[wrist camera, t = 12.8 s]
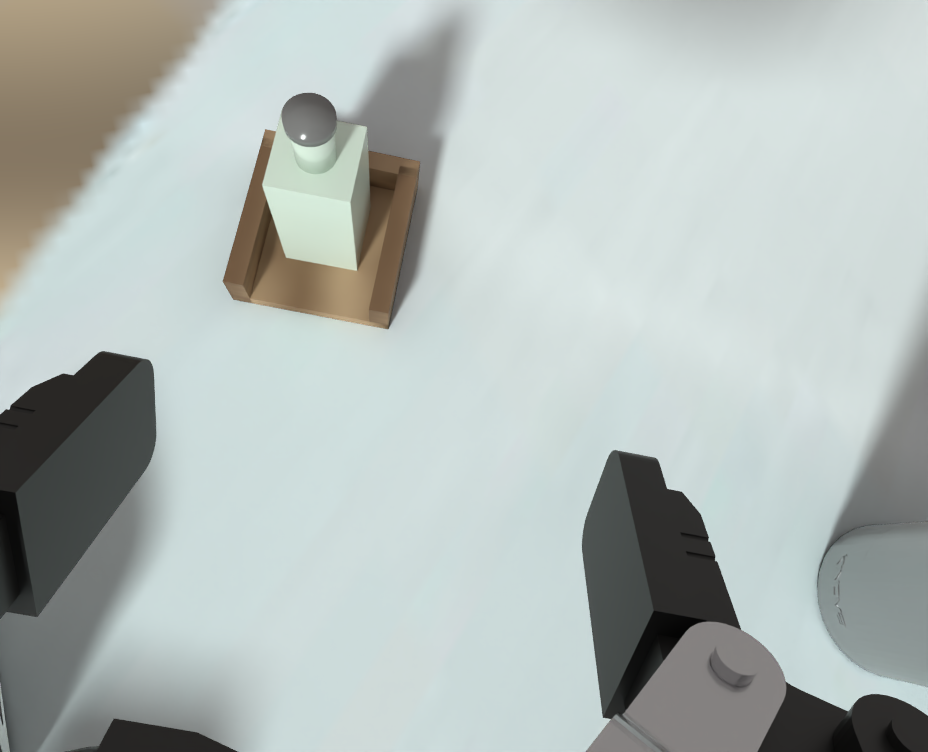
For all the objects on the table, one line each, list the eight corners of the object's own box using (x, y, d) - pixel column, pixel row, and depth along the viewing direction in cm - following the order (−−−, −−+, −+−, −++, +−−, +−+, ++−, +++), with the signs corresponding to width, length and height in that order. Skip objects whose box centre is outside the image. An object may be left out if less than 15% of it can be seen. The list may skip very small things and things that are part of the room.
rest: (417, 185, 48) (420, 161, 45) (388, 329, 45) (388, 313, 42) (272, 155, 47) (265, 129, 45) (233, 299, 45) (222, 281, 42)
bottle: (370, 207, 46) (365, 85, 34) (357, 270, 45) (346, 167, 33) (301, 194, 46) (272, 66, 34) (286, 257, 45) (249, 148, 33)
